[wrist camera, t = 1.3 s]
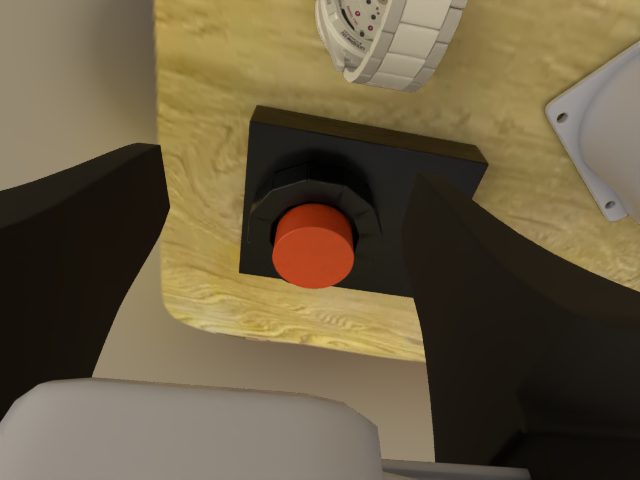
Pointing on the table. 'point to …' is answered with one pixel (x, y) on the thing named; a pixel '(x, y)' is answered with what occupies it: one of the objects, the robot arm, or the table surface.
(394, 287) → the box
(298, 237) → the button
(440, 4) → the watch
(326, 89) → the table surface
